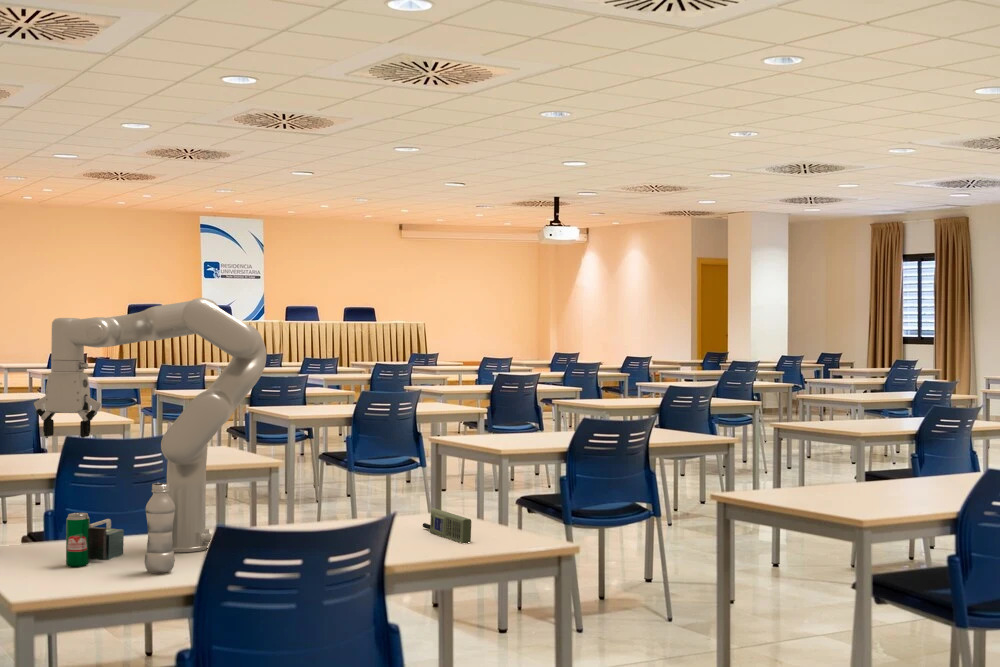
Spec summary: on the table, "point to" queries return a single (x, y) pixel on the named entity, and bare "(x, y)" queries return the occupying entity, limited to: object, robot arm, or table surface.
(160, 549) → the plastic bottle
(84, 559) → the soda can
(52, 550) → the table surface
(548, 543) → the table surface
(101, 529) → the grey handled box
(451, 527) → the handheld radio
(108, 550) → the dark grey cube
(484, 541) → the table surface
